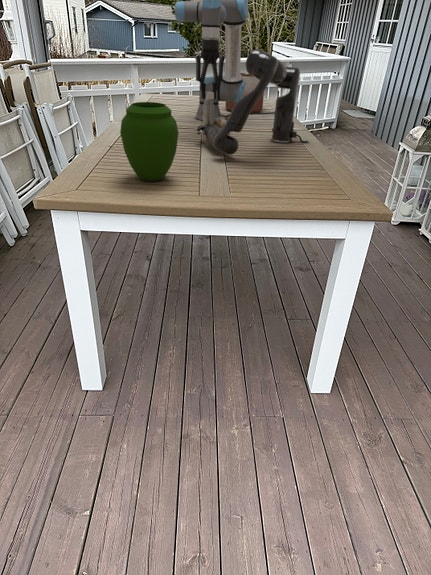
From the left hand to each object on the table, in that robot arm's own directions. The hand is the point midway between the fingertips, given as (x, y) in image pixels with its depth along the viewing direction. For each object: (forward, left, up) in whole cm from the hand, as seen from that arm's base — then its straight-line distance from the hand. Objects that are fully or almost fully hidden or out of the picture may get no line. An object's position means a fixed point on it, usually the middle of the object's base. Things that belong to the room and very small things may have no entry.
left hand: (208, 98), depth 187 cm
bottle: (0, 0, -19) cm, 19 cm away
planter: (-59, -82, -19) cm, 103 cm away
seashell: (-14, -17, -19) cm, 30 cm away
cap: (0, 0, +2) cm, 2 cm away
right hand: (0, -3, -13) cm, 13 cm away
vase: (+40, +48, -19) cm, 66 cm away
